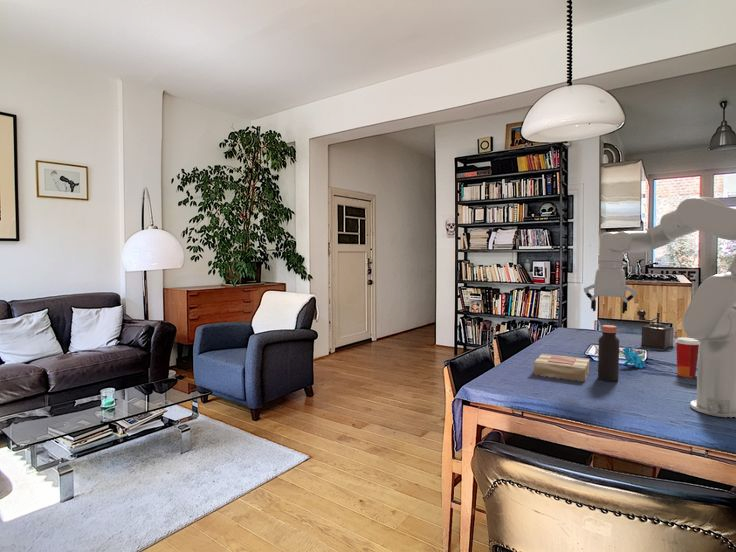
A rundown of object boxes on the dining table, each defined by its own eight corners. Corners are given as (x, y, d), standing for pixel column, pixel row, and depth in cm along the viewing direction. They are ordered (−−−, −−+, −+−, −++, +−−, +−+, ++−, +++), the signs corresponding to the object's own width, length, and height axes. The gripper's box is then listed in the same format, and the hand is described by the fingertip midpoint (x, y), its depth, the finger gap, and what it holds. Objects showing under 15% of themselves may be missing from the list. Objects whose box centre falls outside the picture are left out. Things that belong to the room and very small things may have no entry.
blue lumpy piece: (635, 366, 178) (620, 345, 184) (624, 374, 182) (610, 353, 188) (652, 367, 183) (637, 346, 189) (641, 374, 187) (627, 354, 193)
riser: (584, 381, 165) (585, 367, 164) (533, 374, 174) (533, 361, 174) (589, 371, 178) (589, 358, 178) (541, 365, 188) (542, 352, 187)
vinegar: (613, 376, 171) (614, 324, 169) (621, 381, 164) (623, 327, 163) (594, 376, 171) (596, 324, 170) (602, 381, 165) (603, 327, 163)
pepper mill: (649, 342, 230) (650, 307, 229) (673, 346, 221) (674, 309, 220) (633, 346, 222) (634, 310, 221) (658, 350, 213) (659, 312, 211)
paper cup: (693, 373, 174) (694, 337, 173) (702, 378, 167) (703, 341, 166) (670, 372, 176) (671, 336, 175) (678, 377, 169) (679, 340, 168)
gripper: (638, 265, 164) (636, 312, 165) (585, 264, 173) (584, 308, 174) (637, 267, 157) (635, 315, 159) (583, 265, 166) (581, 311, 168)
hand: (608, 311), depth 166 cm, fingers open, 9 cm apart
